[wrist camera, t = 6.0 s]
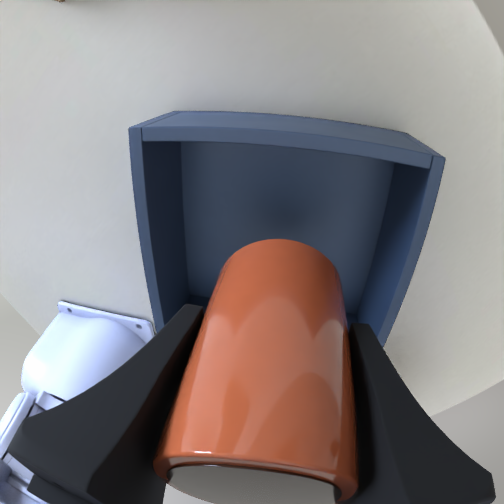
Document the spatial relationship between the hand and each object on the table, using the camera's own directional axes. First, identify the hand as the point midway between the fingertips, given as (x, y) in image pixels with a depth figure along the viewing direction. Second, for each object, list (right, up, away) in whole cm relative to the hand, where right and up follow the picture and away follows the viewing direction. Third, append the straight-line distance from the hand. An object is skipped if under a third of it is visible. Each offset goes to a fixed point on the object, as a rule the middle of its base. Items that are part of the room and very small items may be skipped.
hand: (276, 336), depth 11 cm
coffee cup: (0, +1, +2) cm, 2 cm away
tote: (+1, +4, +7) cm, 9 cm away
